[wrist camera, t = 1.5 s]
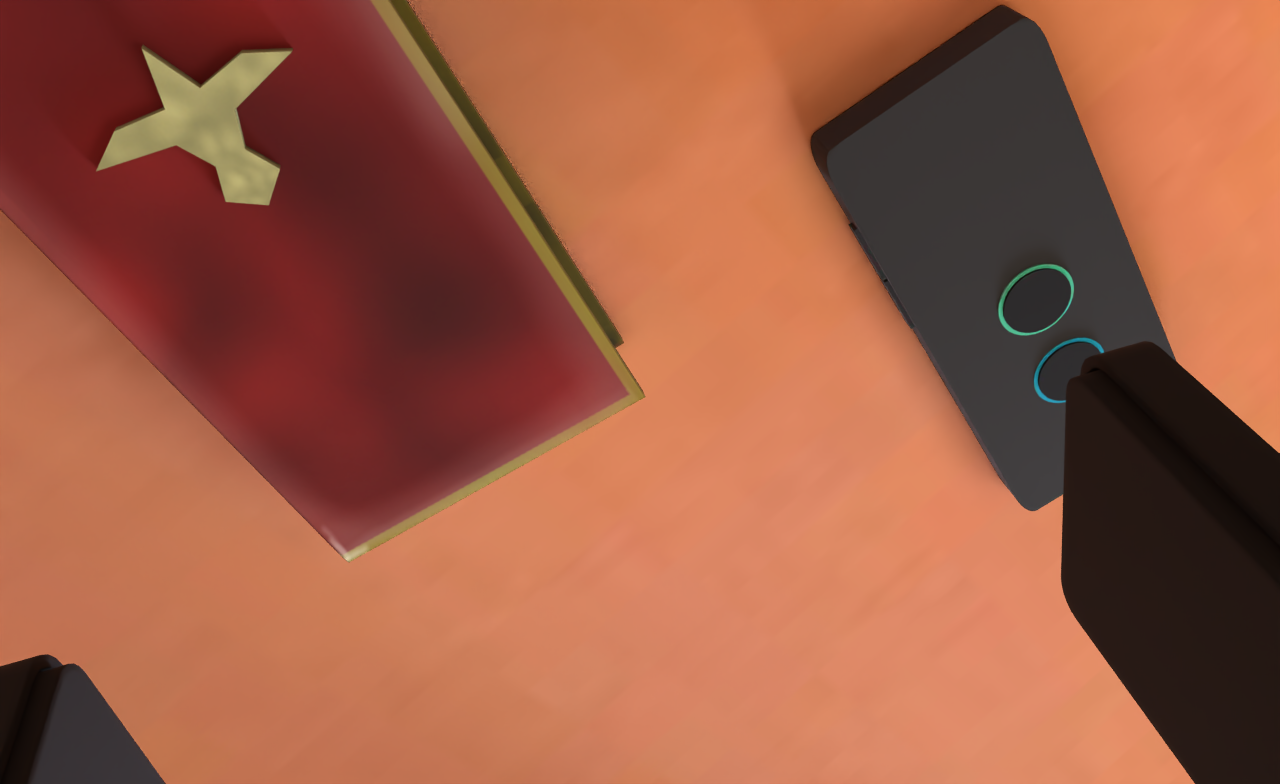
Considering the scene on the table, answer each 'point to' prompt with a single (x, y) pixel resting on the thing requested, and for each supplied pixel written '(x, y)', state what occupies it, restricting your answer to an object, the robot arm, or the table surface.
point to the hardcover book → (306, 243)
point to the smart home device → (992, 236)
